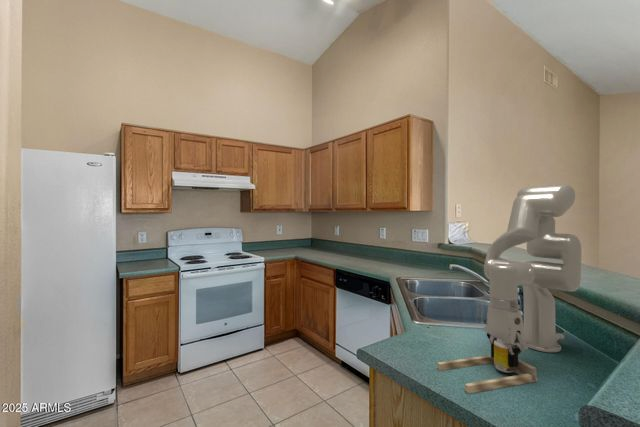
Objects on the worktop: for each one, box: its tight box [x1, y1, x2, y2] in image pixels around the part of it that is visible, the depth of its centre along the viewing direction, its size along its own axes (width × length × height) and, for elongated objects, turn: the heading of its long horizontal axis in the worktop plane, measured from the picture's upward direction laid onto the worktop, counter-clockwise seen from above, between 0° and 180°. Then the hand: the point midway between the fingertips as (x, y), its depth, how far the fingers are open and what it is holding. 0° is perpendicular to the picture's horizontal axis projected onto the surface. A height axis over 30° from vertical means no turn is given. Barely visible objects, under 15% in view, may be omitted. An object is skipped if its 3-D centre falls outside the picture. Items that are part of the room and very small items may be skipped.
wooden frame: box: [436, 354, 538, 394], centre depth 89 cm, size 24×13×4 cm, turn 104°
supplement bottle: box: [493, 338, 515, 374], centre depth 91 cm, size 6×6×10 cm
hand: (504, 360), depth 91 cm, fingers closed on supplement bottle, 5 cm apart
